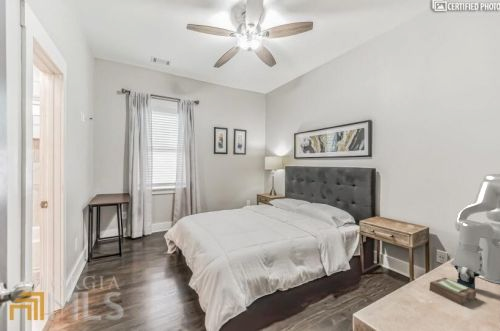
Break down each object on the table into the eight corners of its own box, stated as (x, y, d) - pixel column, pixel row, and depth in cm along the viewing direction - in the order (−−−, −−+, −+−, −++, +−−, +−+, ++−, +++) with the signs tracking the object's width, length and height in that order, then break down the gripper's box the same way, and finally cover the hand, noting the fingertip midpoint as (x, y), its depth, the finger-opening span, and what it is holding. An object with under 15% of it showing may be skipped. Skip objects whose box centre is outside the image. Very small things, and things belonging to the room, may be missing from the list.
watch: (476, 288, 113) (477, 266, 113) (469, 291, 110) (470, 269, 110) (462, 282, 118) (463, 262, 118) (455, 285, 115) (456, 264, 115)
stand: (444, 285, 114) (445, 276, 114) (475, 298, 104) (476, 289, 104) (429, 290, 109) (430, 281, 109) (460, 305, 98) (461, 295, 98)
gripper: (494, 252, 108) (491, 289, 108) (452, 240, 123) (450, 273, 123) (487, 254, 104) (484, 292, 105) (445, 242, 119) (442, 275, 120)
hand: (466, 281), depth 114 cm, fingers closed on watch, 3 cm apart
